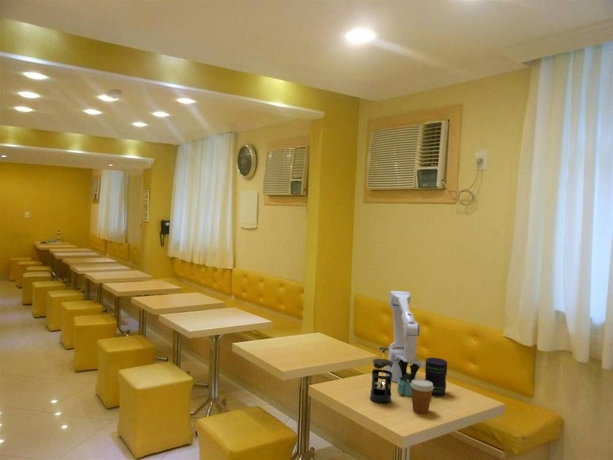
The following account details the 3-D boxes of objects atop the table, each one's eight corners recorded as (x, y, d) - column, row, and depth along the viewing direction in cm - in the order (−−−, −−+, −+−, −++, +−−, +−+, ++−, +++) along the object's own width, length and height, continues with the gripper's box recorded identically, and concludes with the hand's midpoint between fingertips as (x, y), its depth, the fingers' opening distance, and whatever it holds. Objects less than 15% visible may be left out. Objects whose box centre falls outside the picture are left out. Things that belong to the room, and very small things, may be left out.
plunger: (397, 390, 213) (398, 373, 212) (405, 387, 217) (406, 371, 217) (409, 395, 208) (410, 377, 208) (417, 391, 212) (418, 374, 212)
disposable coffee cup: (415, 404, 199) (416, 376, 199) (435, 411, 193) (437, 382, 193) (404, 410, 192) (406, 382, 192) (426, 417, 186) (428, 388, 186)
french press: (396, 403, 199) (399, 350, 198) (377, 405, 196) (380, 352, 195) (382, 393, 210) (385, 343, 209) (364, 395, 206) (367, 344, 206)
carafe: (392, 392, 211) (392, 379, 211) (404, 387, 218) (405, 375, 218) (407, 398, 205) (408, 385, 205) (420, 393, 212) (421, 380, 212)
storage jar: (443, 389, 219) (445, 358, 219) (447, 397, 209) (449, 365, 209) (422, 387, 220) (424, 356, 220) (425, 395, 210) (427, 363, 210)
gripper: (392, 346, 214) (390, 375, 215) (419, 354, 204) (417, 385, 204) (400, 344, 219) (398, 372, 220) (427, 352, 209) (425, 381, 209)
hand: (408, 378), depth 212 cm, fingers closed on plunger, 4 cm apart
